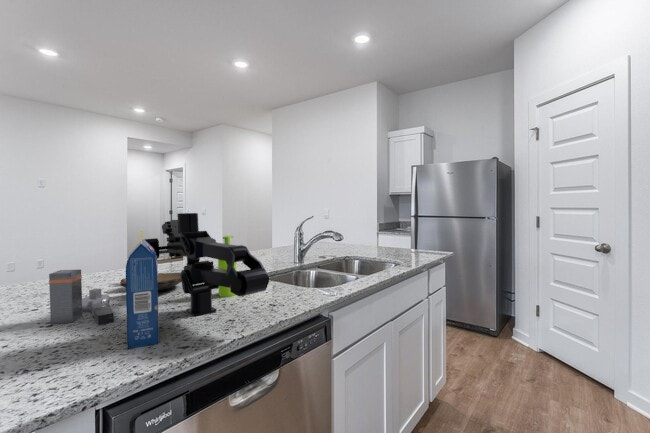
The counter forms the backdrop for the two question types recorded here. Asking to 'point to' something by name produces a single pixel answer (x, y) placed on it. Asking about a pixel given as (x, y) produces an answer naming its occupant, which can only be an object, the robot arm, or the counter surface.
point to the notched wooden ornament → (163, 280)
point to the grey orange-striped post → (65, 296)
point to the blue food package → (142, 296)
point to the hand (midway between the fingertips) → (164, 246)
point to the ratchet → (98, 306)
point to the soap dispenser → (223, 265)
